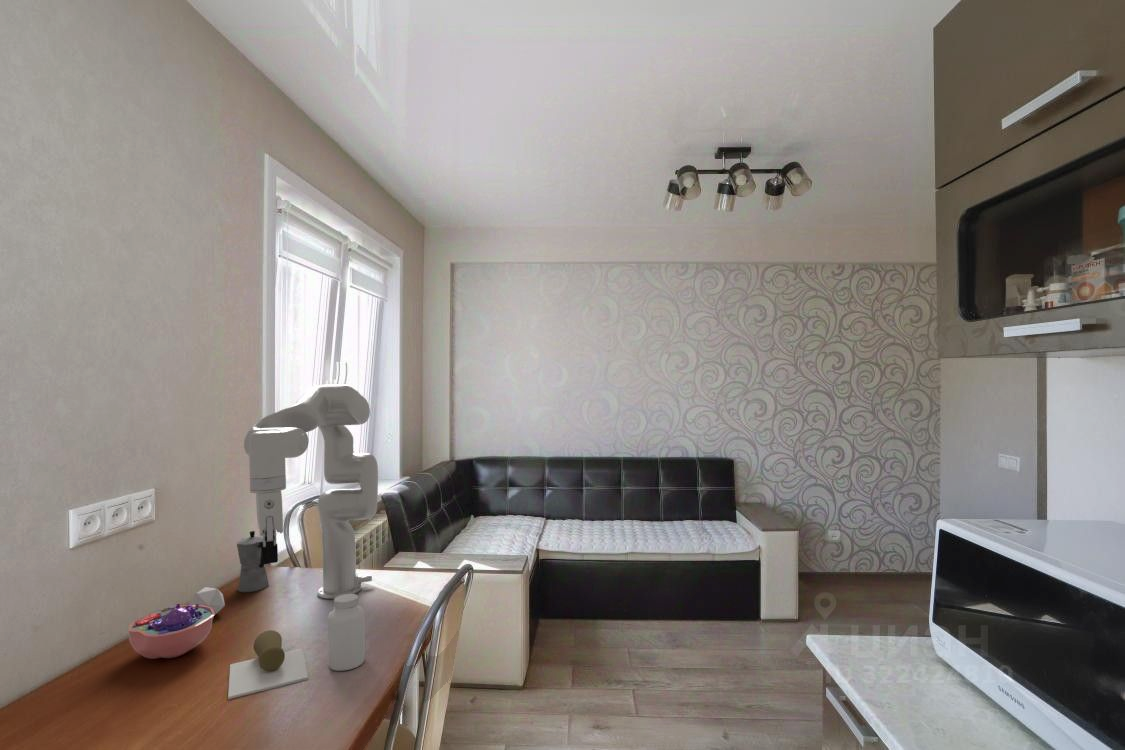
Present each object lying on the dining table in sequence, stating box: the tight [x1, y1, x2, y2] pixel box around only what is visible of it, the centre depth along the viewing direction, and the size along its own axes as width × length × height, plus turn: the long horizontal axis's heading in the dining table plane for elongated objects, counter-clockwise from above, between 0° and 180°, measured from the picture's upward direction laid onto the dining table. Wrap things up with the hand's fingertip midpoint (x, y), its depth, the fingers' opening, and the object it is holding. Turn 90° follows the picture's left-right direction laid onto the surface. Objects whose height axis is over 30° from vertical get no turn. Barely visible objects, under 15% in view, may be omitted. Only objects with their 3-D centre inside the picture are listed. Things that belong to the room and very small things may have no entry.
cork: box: [253, 629, 285, 671], centre depth 131 cm, size 6×6×11 cm
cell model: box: [128, 603, 216, 660], centre depth 139 cm, size 17×20×11 cm
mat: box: [227, 647, 309, 700], centre depth 128 cm, size 15×16×1 cm
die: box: [188, 586, 226, 615], centre depth 161 cm, size 8×9×10 cm
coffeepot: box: [236, 530, 270, 593], centre depth 183 cm, size 15×9×18 cm, turn 51°
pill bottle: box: [327, 593, 366, 672], centre depth 131 cm, size 8×8×15 cm
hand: (270, 562), depth 134 cm, fingers closed
